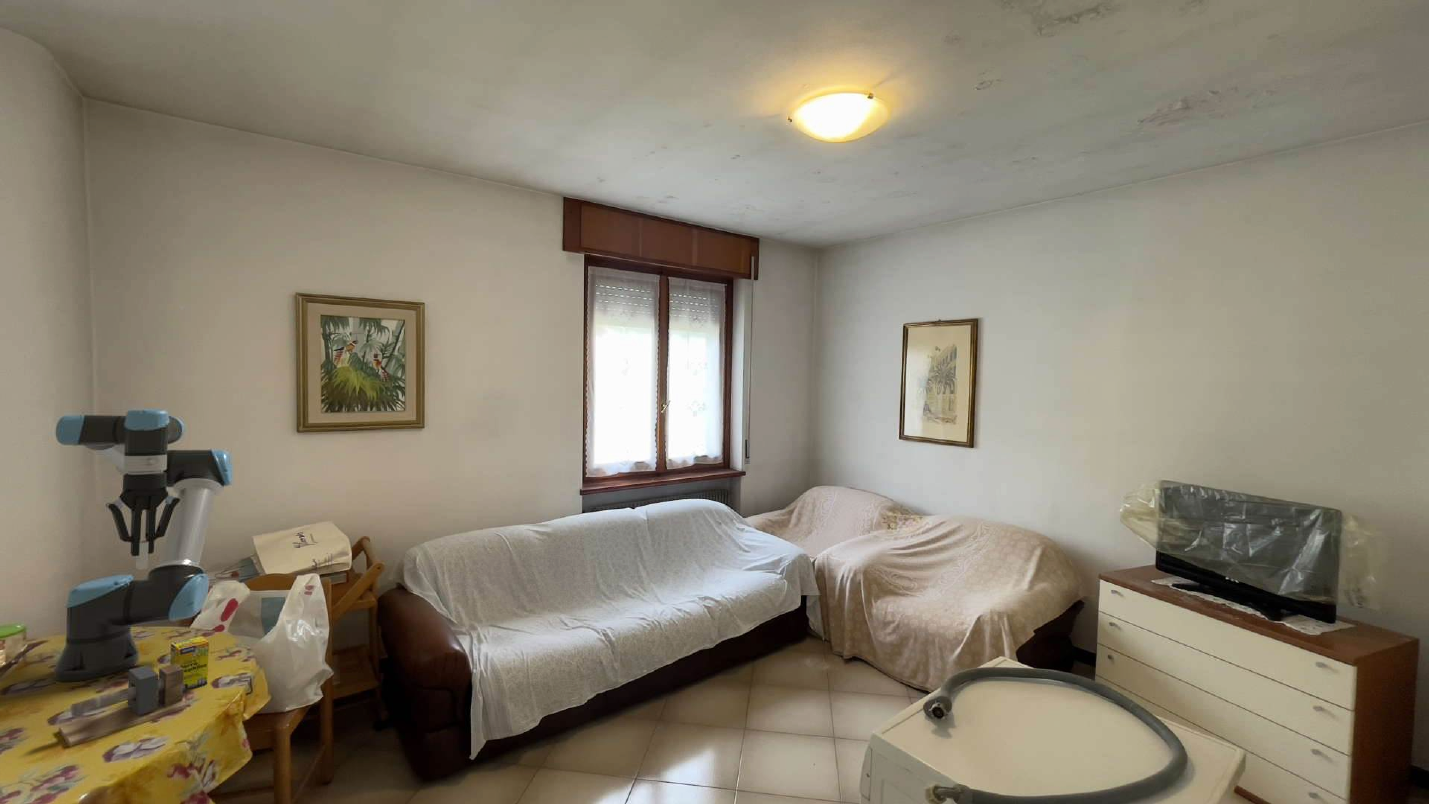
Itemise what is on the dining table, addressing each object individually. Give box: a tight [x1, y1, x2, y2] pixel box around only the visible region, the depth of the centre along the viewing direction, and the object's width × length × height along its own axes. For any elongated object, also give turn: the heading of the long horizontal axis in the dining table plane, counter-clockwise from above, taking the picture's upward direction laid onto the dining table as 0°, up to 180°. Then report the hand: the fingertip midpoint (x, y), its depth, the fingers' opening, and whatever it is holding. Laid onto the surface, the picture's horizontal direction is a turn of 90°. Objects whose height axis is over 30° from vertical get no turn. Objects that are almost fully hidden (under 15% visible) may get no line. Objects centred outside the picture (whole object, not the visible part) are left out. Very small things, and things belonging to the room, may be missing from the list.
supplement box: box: [169, 635, 210, 692], centre depth 141 cm, size 6×6×11 cm
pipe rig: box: [58, 664, 187, 748], centre depth 126 cm, size 18×10×8 cm, turn 148°
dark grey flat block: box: [127, 664, 159, 716], centre depth 129 cm, size 3×8×8 cm, turn 58°
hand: (141, 568), depth 138 cm, fingers closed
